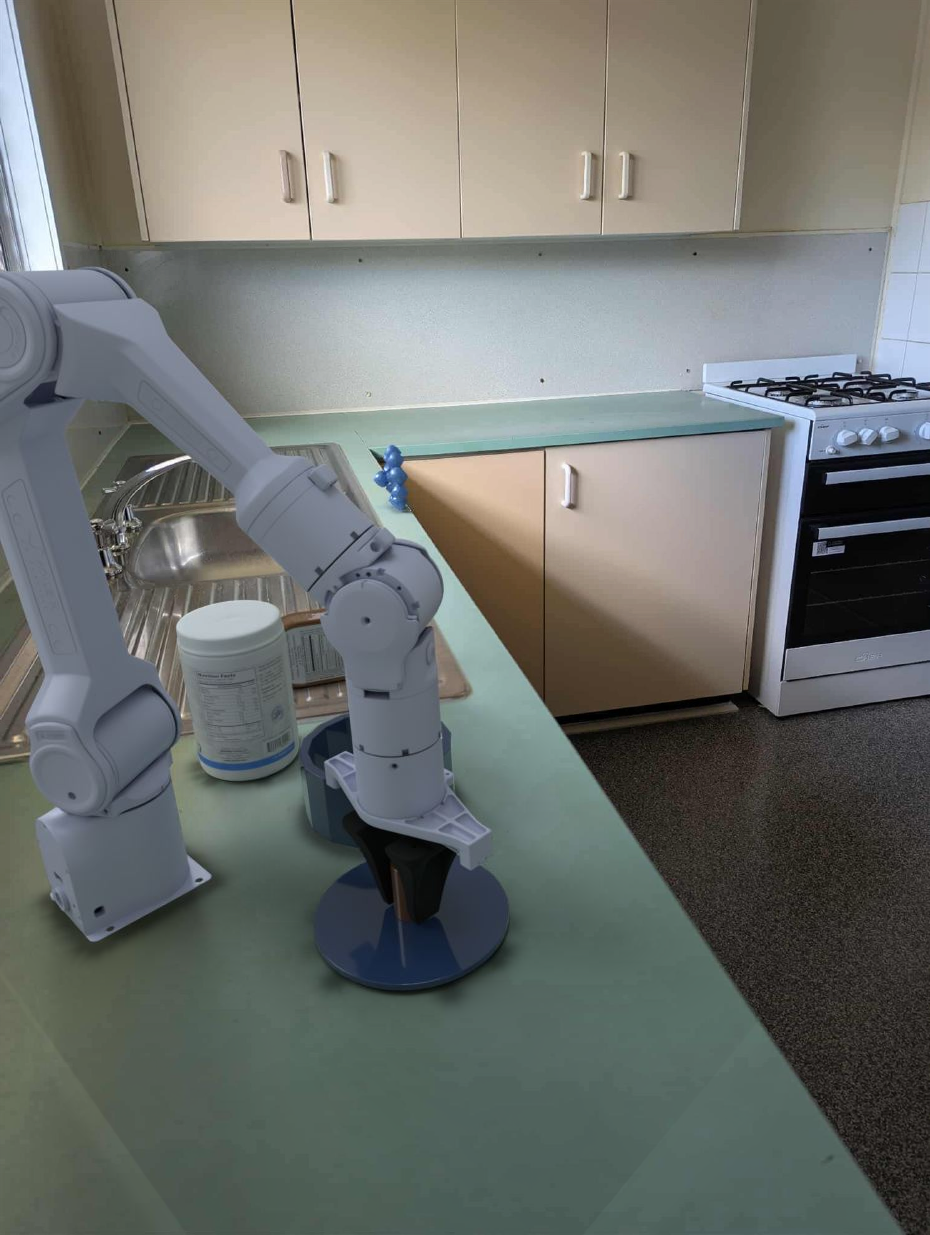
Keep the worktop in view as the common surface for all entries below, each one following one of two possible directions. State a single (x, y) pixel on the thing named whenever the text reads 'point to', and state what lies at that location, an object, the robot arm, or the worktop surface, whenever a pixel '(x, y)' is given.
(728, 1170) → the worktop surface
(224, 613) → the supplement tub
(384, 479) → the grapes
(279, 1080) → the worktop surface
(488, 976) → the worktop surface
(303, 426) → the worktop surface
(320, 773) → the crock
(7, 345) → the robot arm
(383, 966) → the lid
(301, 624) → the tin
